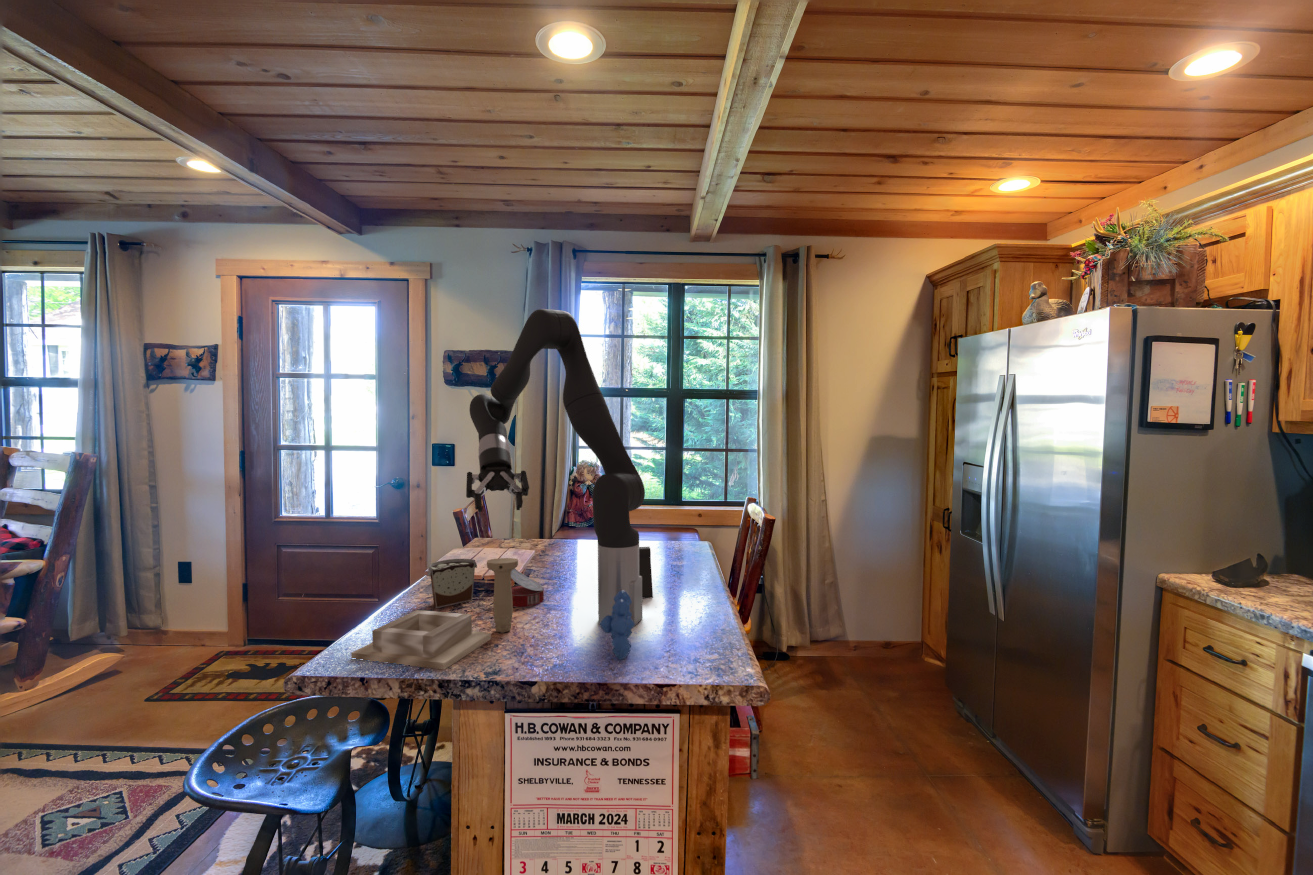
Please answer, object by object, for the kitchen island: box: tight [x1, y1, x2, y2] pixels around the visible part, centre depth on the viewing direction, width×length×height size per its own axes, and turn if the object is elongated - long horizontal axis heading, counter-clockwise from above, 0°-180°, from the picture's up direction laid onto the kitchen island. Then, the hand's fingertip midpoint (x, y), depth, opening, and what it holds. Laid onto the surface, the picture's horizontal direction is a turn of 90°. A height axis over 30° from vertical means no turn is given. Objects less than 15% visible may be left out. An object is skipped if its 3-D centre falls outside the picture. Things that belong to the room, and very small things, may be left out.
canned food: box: [511, 568, 545, 608], centre depth 150 cm, size 11×10×10 cm
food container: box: [427, 558, 478, 609], centre depth 149 cm, size 12×6×10 cm, turn 135°
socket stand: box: [350, 609, 492, 671], centre depth 118 cm, size 20×16×5 cm
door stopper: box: [639, 546, 654, 598], centre depth 156 cm, size 9×6×12 cm, turn 10°
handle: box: [486, 557, 519, 634], centre depth 128 cm, size 5×6×15 cm
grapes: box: [599, 590, 636, 661], centre depth 114 cm, size 12×7×12 cm, turn 179°
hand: (499, 508), depth 138 cm, fingers open, 8 cm apart
